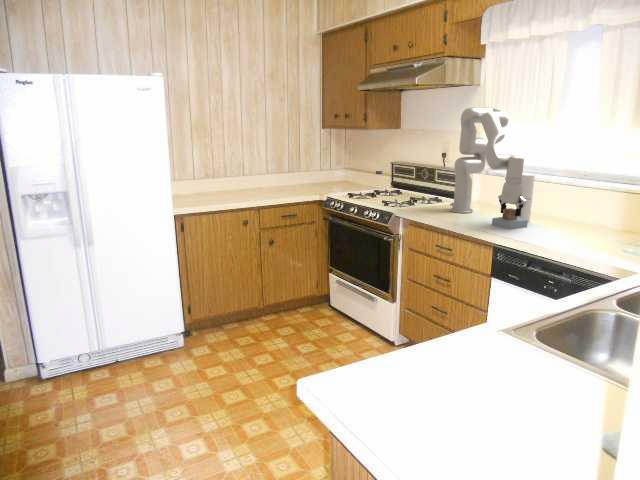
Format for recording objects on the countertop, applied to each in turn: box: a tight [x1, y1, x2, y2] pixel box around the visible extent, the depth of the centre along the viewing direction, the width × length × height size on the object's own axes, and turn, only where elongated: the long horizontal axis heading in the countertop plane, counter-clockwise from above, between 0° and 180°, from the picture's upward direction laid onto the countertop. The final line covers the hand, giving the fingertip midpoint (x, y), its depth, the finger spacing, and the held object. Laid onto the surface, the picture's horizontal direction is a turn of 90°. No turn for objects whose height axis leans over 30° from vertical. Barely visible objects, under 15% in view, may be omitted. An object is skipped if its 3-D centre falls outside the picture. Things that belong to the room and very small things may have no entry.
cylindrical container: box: [517, 173, 536, 223], centre depth 263 cm, size 7×7×25 cm
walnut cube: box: [501, 208, 517, 220], centre depth 254 cm, size 5×5×5 cm
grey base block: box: [491, 216, 529, 230], centre depth 255 cm, size 12×12×4 cm
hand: (510, 214), depth 254 cm, fingers open, 9 cm apart
